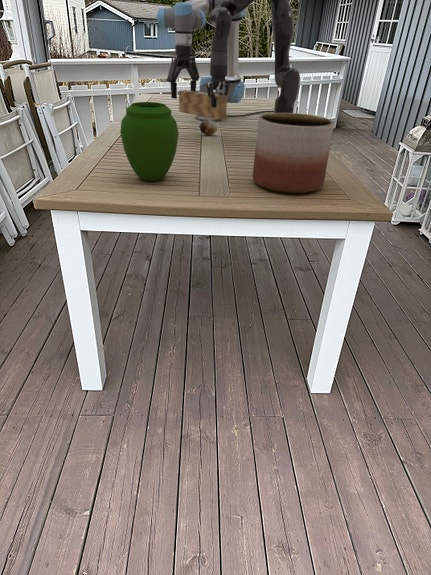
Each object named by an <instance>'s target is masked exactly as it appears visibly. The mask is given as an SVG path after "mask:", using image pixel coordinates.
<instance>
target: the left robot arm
mask: <svg viewBox="0 0 431 575" xmlns="http://www.w3.org/2000/svg"><path fill="white" fill-rule="evenodd" d="M224 1H225V0H187V1H184V2H176V3H175V4H174V6H171V7H168V8H167V7H163V8H158V10H157V13H156V22H157V25H158V26H159V27H160V28H164V29H174V44H175V46H174V49H175V50H174V52H175V55H176V57H171V60H170V61H171V63H170V67H169V70H168V73H167V78H166V81H167V82H168V83H170V92H171V94H170V96H171V97H170V98H171V99H174V100H177V99H178V84H177V80H178V77H179V76H180V73H181V71H182V70H186V71H187V73H188V75H189V77H190V79H191V80H190V91H197V82H198V81H199V86H198V87H199V92H204V93H208V92H207V82H211V79H212V76H206V77H200V74H199V70H198V65H197V62H196V57H195V56H192V55H193V46H192V44H193V30H197V31H198V30H202V29H203V28H204V27H205V26H206V22H207V18H206V16H210V15H211V12H212V11H213V10H214V9H215V8H216V7H217V6H218V5H220V4H221V3H222V2H224ZM246 11H247V8H246V9H245V10H243V11H242V12H241V13H240V14H237V15H235V16H233V17H232V25H231V30H230V35H229V39H228V71H227V76H226V77H225V79H226V81H230V84H229V89H228V94H227V104H239V103H240V102H241V101H242V99H243V97H244V94H245V88H246V85H245V82H244V81H242V77H241V75H240V74H239V54H240V53H239V52H240V51H239V50H240V49H239V48H240V47H239V45H240V44H239V43H240V40H239V38H240V33H239V32H240V23H241V22H242V21H243V17H245V15H246ZM225 92H226V89H225ZM221 93H222V92H221ZM210 94H211V91H210ZM214 94H215V93H214ZM217 95H219V92H218V93H217ZM261 113H262V114H265V113H274V110H259V111H254V112H250V113H246V114H234V115H232V114H231V115H230V114H226V118H228V117H229V118H240V117H246V116H252V115H255V114H261ZM195 119H196V120H199V121H202V122H203V121H205V120H208V119H212V120H213V121H214V122H218V121H220V120H219V119H214V118H208V117H203V116H198V115H195Z"/></svg>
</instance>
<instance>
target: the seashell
mask: <svg viewBox="0 0 431 575" xmlns="http://www.w3.org/2000/svg"><path fill="white" fill-rule="evenodd" d="M198 126H199V131H200V133H202V134H203V135H206V136H211V135H214V134H215V133H217V131H219V130H218V125H217V123H216V122H215V121H213V120H212V119H208V120H205V121H203V120H202V122H201V123H200V124H198Z"/></svg>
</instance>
